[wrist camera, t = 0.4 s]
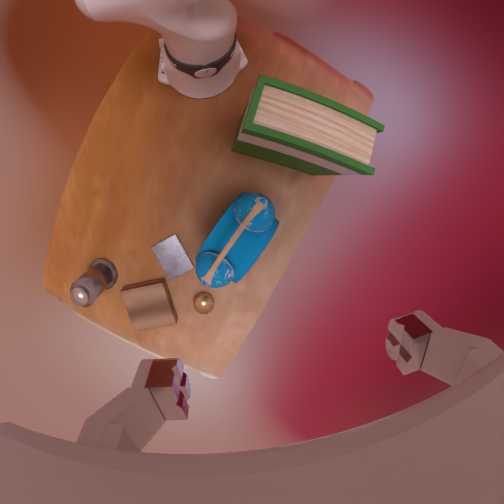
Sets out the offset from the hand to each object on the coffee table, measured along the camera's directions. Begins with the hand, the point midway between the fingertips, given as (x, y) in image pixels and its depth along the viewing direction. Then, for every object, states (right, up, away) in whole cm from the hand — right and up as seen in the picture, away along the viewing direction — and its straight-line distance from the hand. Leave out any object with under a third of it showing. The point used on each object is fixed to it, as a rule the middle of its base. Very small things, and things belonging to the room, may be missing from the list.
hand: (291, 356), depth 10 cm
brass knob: (-12, -7, +50) cm, 52 cm away
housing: (-35, -1, +45) cm, 57 cm away
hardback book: (+4, +25, +44) cm, 51 cm away
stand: (-24, -7, +48) cm, 54 cm away
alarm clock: (-5, +8, +47) cm, 48 cm away
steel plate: (-18, +3, +47) cm, 50 cm away
